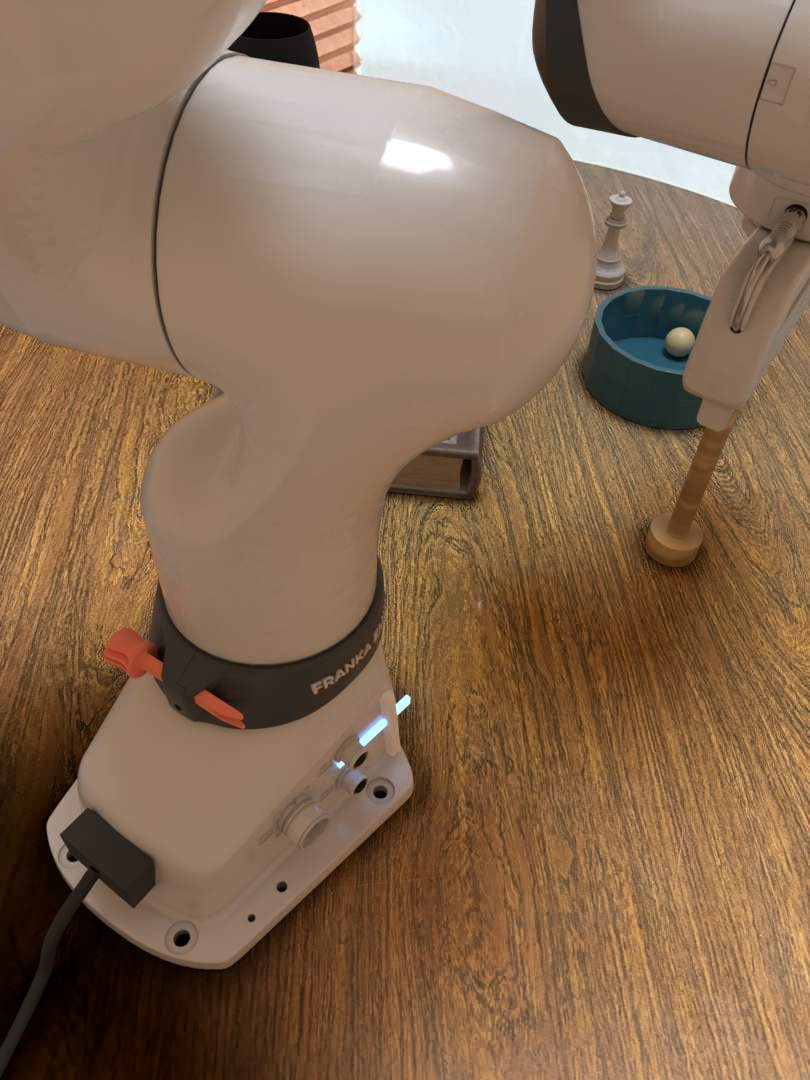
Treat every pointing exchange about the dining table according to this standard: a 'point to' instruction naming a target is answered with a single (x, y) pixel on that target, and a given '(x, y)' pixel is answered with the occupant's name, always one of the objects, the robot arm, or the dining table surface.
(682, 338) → the beige ball
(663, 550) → the wooden peg stand
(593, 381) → the bowl
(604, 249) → the chess piece
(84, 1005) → the dining table surface
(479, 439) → the book
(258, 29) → the wine glass
